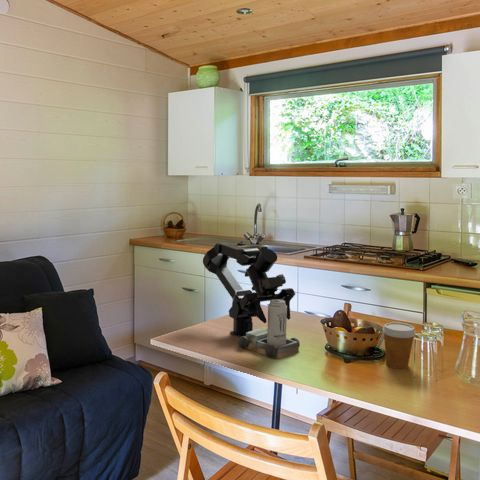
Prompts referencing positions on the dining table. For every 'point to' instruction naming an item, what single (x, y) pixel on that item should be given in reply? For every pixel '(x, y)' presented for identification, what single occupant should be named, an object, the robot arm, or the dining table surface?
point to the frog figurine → (381, 340)
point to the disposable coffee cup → (398, 344)
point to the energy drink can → (277, 323)
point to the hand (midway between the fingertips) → (277, 320)
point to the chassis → (258, 343)
